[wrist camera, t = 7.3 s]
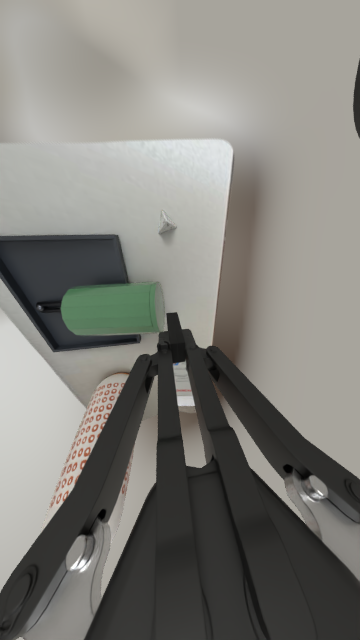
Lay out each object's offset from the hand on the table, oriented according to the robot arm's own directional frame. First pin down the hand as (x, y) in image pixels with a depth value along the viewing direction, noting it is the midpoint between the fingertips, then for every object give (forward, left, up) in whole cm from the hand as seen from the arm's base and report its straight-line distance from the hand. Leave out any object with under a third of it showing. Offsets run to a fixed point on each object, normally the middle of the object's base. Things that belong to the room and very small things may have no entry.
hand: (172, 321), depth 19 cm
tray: (+7, -17, -13) cm, 22 cm away
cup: (+1, -1, -5) cm, 5 cm away
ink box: (+22, +11, -13) cm, 27 cm away
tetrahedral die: (-12, -3, -13) cm, 18 cm away
